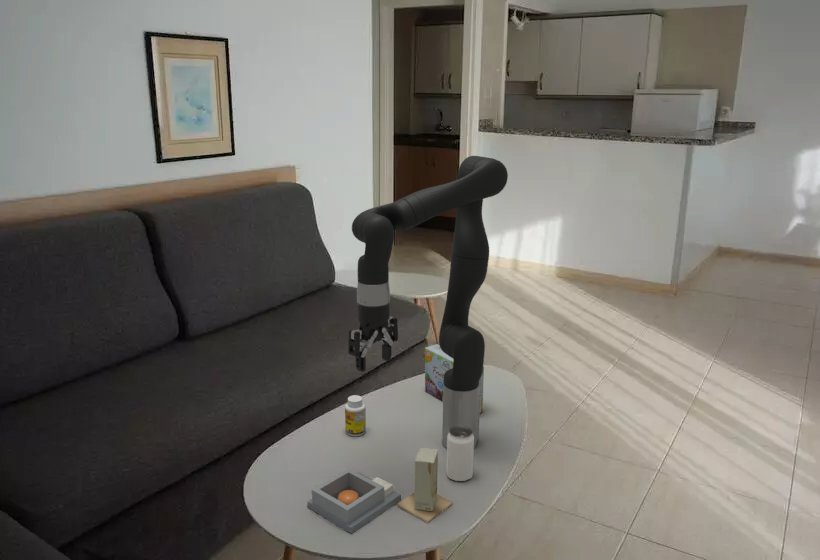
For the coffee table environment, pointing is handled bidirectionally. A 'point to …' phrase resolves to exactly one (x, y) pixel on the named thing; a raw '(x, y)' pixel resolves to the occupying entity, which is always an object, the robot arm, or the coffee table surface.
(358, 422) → the supplement bottle
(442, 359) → the snack box
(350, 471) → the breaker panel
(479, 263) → the robot arm
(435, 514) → the cork coaster
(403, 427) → the coffee table surface
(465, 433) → the can
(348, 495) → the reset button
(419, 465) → the skincare box
